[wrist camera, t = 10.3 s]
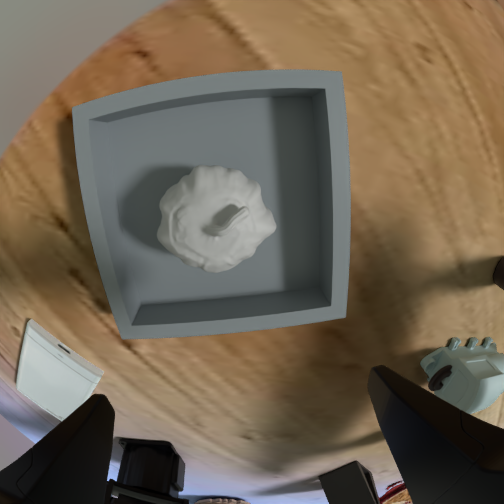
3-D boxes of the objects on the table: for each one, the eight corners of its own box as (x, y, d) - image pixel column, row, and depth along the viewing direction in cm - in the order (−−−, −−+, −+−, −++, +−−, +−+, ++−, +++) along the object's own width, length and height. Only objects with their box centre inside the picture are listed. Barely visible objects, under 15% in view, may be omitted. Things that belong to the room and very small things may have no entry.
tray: (134, 314, 19) (121, 339, 16) (95, 112, 14) (72, 107, 11) (331, 294, 19) (345, 317, 17) (324, 82, 15) (341, 71, 12)
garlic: (263, 155, 15) (277, 157, 11) (272, 245, 17) (289, 284, 12) (158, 170, 15) (127, 181, 10) (175, 258, 17) (155, 301, 12)
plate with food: (471, 442, 40) (477, 451, 36) (430, 487, 48) (434, 495, 45) (388, 480, 39) (393, 492, 35) (358, 514, 47) (361, 524, 44)
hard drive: (71, 428, 23) (100, 380, 20) (14, 387, 21) (25, 324, 18) (76, 418, 24) (106, 367, 21) (20, 379, 22) (34, 314, 19)
